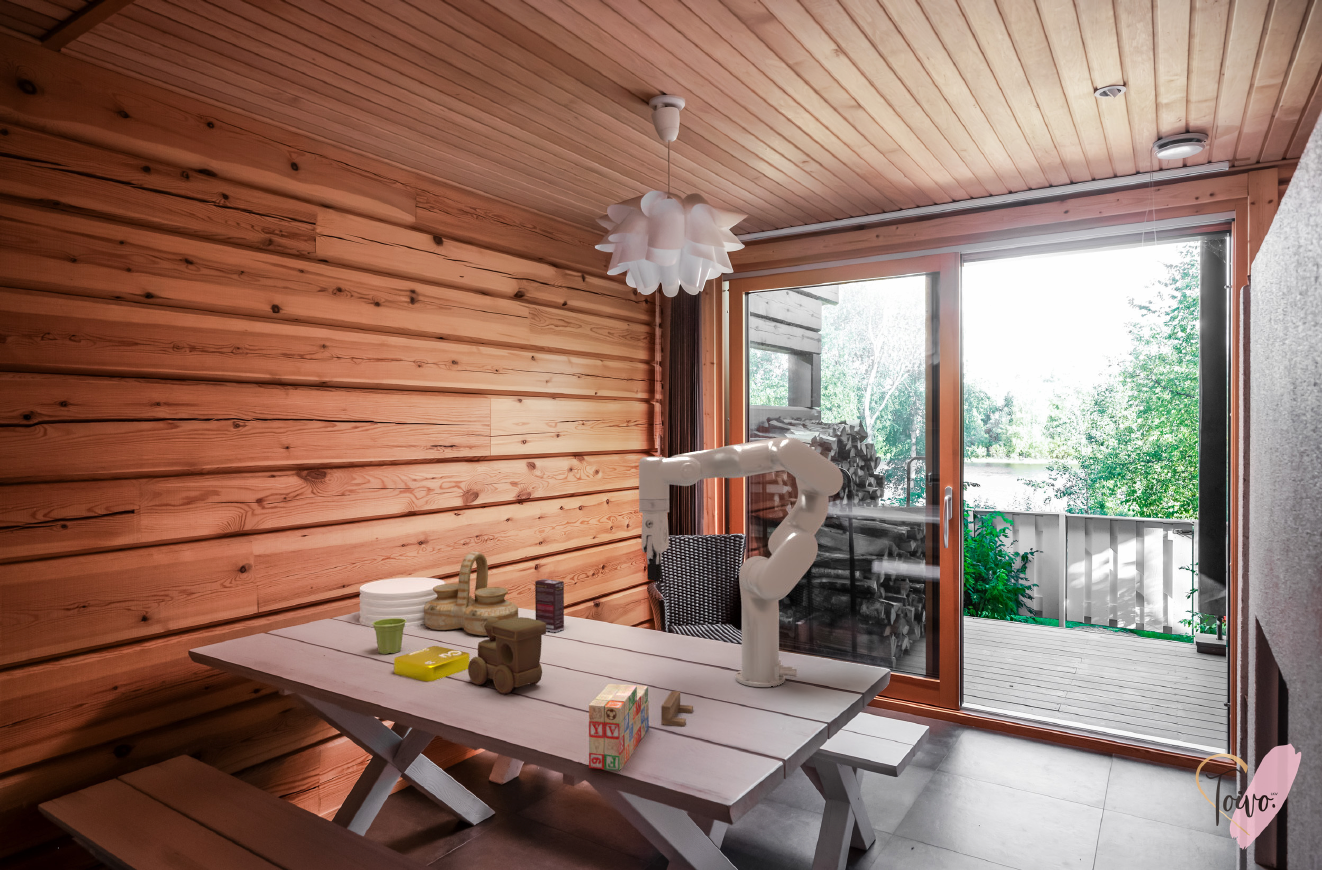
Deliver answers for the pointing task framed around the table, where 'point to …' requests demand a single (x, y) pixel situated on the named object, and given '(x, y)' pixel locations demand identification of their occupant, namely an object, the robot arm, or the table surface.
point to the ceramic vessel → (468, 601)
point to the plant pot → (389, 634)
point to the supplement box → (550, 603)
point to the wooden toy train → (509, 653)
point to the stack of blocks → (617, 724)
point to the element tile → (431, 663)
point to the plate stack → (397, 599)
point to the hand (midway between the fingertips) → (654, 579)
